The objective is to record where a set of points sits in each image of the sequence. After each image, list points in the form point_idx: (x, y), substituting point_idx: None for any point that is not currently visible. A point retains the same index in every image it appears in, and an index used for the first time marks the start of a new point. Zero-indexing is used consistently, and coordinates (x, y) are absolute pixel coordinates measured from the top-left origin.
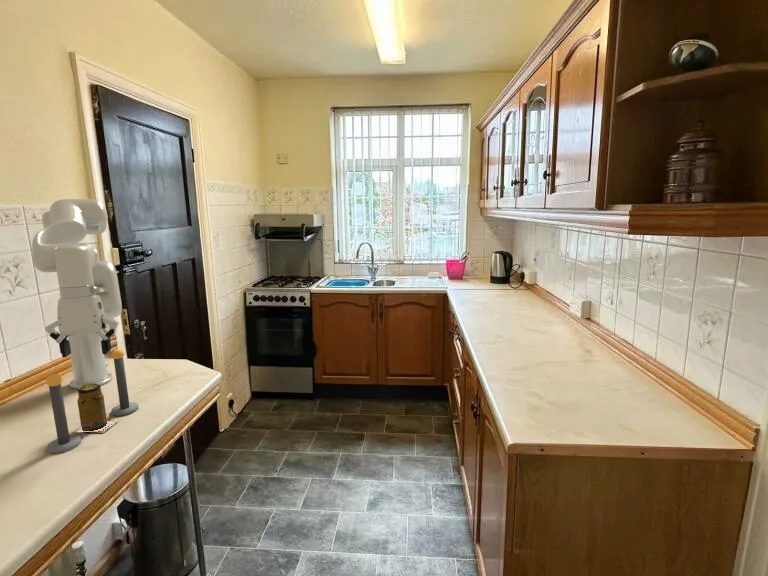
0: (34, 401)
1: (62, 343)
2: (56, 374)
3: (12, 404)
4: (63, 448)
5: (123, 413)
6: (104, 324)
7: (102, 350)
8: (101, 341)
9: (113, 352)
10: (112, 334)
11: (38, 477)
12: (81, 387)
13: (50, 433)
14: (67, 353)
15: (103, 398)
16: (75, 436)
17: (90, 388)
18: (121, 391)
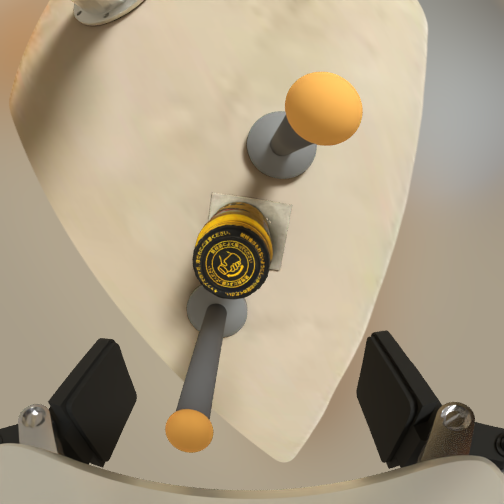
0: (41, 91)
1: (103, 465)
2: (194, 445)
3: (16, 109)
4: (230, 335)
5: (290, 177)
6: (490, 492)
7: (365, 411)
8: (387, 462)
9: (314, 130)
10: (477, 437)
11: (234, 389)
12: (202, 266)
13: (150, 248)
14: (124, 386)
15: (271, 241)
16: None
17: (243, 279)
18: (291, 152)
